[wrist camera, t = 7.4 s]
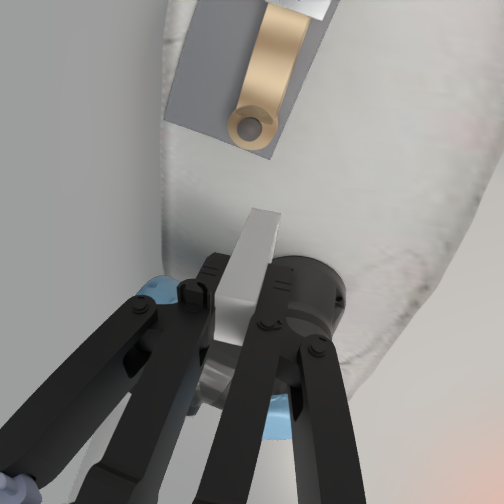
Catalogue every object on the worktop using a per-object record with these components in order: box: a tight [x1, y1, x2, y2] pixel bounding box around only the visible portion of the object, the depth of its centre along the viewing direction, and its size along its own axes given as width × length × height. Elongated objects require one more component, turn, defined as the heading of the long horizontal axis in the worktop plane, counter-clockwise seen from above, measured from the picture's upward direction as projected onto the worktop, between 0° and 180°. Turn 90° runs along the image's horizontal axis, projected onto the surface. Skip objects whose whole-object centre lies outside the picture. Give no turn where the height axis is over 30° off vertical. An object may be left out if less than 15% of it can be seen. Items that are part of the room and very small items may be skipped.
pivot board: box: [164, 0, 340, 160], centre depth 27 cm, size 29×14×1 cm, turn 160°
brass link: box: [227, 3, 311, 150], centre depth 27 cm, size 20×5×4 cm, turn 164°
